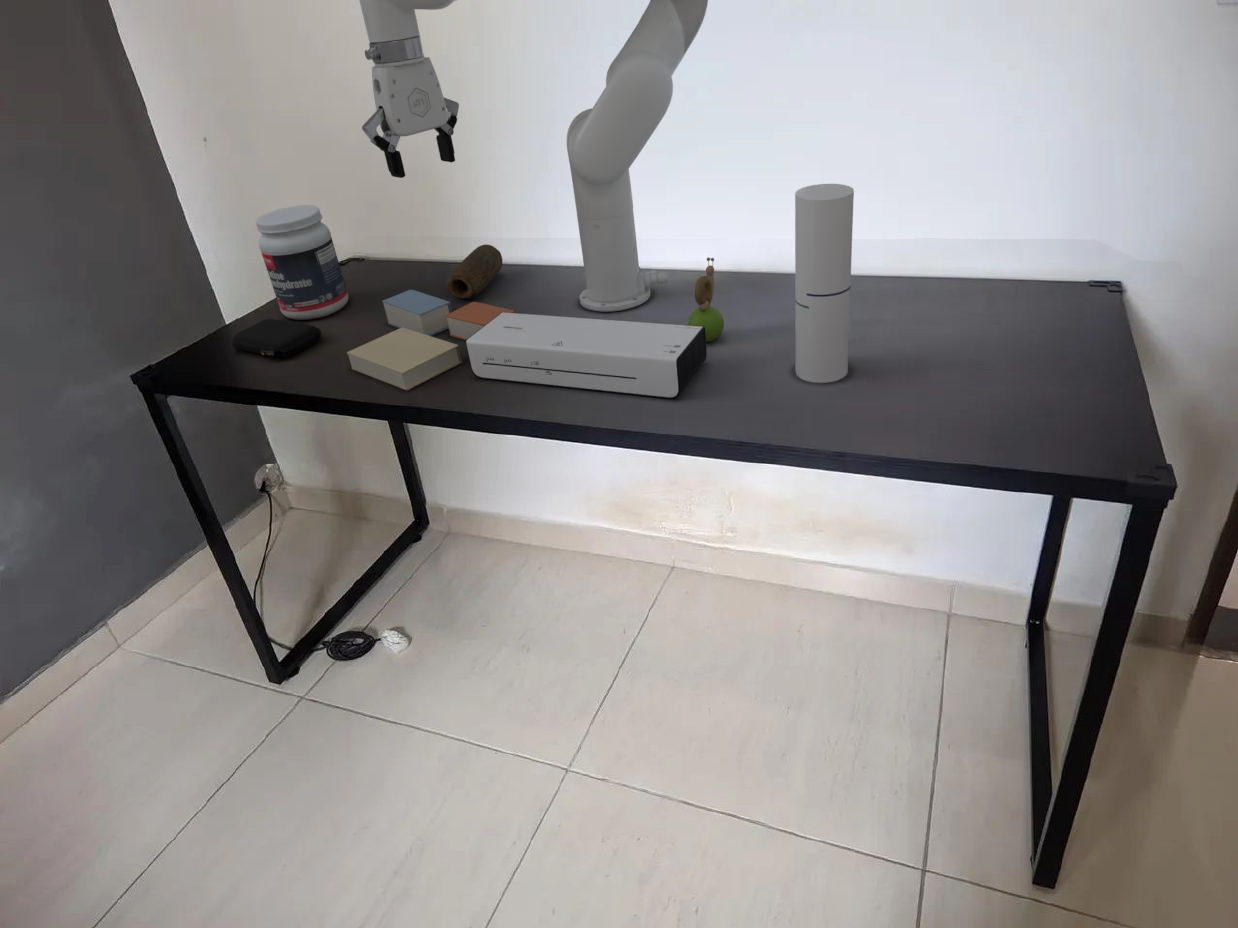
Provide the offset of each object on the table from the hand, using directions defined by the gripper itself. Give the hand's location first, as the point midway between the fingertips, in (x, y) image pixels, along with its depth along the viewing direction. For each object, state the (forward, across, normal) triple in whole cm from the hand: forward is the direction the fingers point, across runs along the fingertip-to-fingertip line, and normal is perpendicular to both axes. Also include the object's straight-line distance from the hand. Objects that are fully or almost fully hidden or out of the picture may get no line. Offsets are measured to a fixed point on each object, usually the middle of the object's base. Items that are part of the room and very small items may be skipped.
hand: (423, 169), depth 139 cm
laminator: (+26, -1, -35) cm, 44 cm away
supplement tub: (+26, -11, +30) cm, 42 cm away
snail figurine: (+26, +17, -43) cm, 53 cm away
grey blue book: (+26, -5, +5) cm, 27 cm away
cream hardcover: (+26, -16, -8) cm, 32 cm away
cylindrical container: (+26, +17, -64) cm, 71 cm away
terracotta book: (+26, -1, -9) cm, 28 cm away
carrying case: (+26, -25, +20) cm, 42 cm away
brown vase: (+26, +12, +10) cm, 31 cm away
